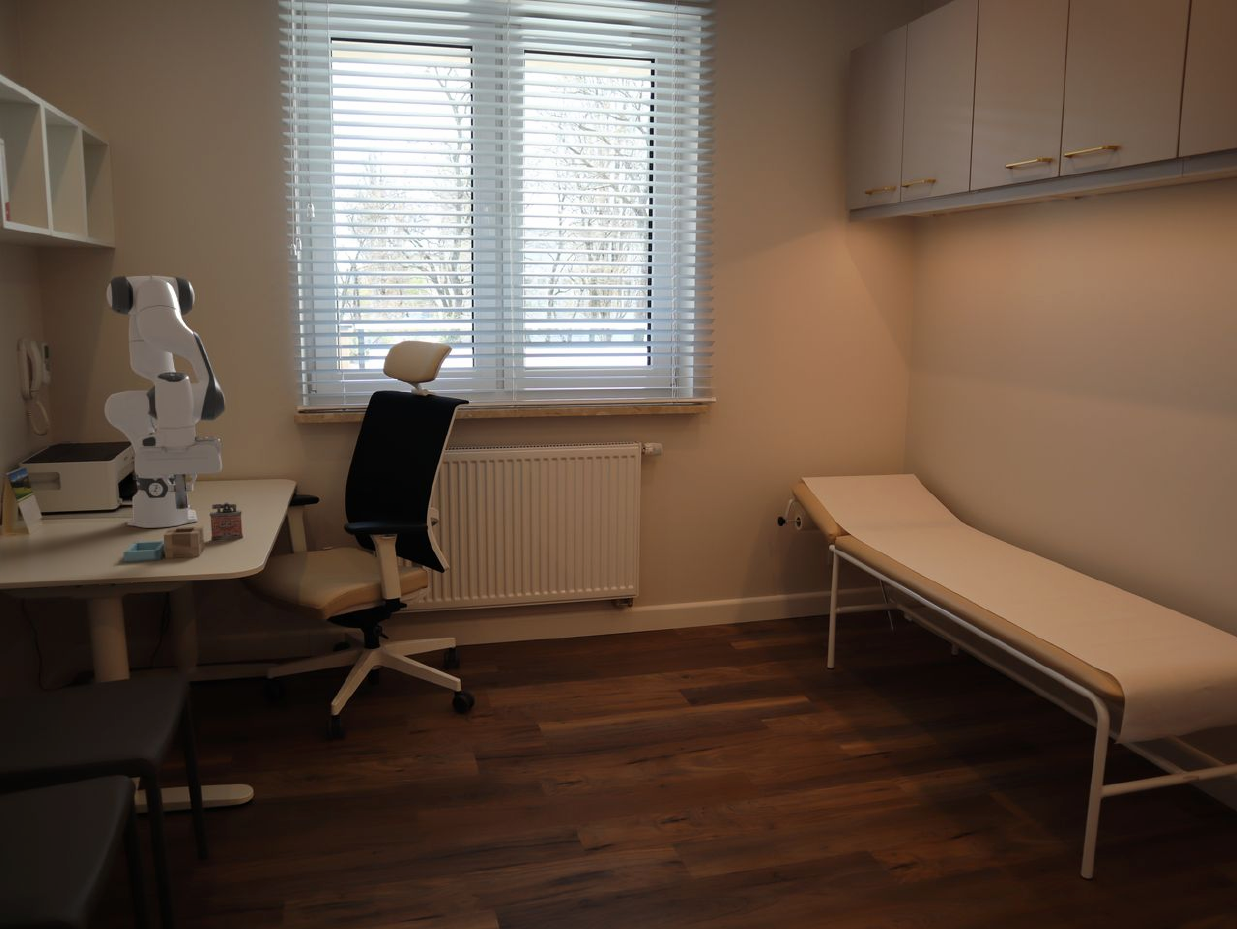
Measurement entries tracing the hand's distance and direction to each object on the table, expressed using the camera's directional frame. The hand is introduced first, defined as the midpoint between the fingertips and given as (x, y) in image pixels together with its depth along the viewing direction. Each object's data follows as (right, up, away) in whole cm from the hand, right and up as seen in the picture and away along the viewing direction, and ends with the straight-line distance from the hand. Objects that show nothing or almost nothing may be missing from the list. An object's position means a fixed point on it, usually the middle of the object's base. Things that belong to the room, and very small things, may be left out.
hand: (180, 491), depth 251 cm
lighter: (+5, -14, +19) cm, 23 cm away
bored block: (0, -16, +2) cm, 16 cm away
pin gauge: (0, -4, +1) cm, 4 cm away
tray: (-8, -16, 0) cm, 18 cm away
